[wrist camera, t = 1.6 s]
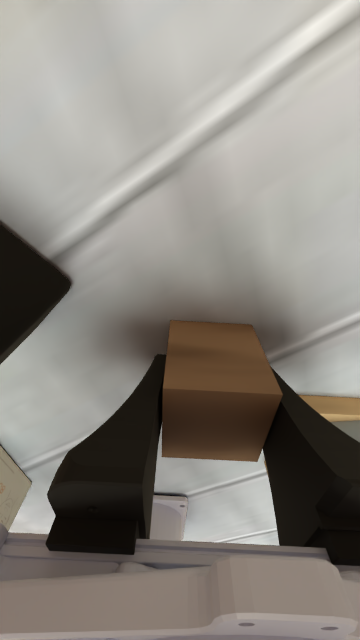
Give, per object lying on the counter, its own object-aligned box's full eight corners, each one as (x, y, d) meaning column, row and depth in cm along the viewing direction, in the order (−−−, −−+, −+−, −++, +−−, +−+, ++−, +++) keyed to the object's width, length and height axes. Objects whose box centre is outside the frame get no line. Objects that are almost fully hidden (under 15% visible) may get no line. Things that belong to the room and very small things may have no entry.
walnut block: (237, 383, 16) (257, 461, 11) (168, 379, 16) (161, 456, 11) (251, 324, 13) (282, 394, 9) (170, 320, 13) (162, 388, 9)
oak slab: (355, 459, 21) (370, 485, 19) (262, 455, 21) (269, 480, 19) (404, 394, 17) (429, 419, 15) (288, 388, 17) (300, 412, 15)
